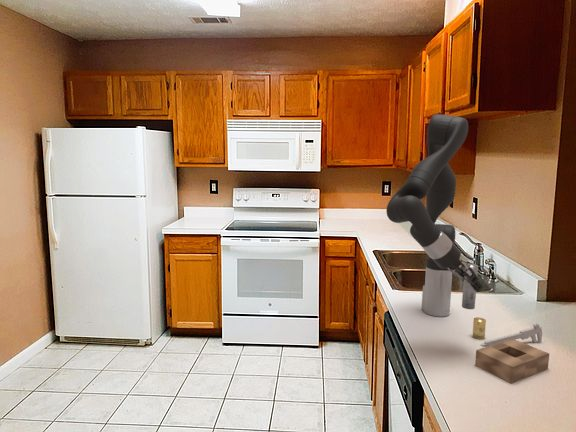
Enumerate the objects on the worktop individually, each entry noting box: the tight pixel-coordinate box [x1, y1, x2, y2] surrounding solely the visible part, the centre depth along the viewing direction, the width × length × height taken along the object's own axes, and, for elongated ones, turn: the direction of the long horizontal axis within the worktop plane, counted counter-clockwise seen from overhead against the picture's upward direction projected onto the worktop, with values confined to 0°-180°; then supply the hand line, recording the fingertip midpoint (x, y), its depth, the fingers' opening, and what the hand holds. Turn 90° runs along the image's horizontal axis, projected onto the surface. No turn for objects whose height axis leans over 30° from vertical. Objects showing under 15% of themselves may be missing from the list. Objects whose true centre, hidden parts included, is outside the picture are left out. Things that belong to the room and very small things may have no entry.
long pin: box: [461, 262, 479, 310], centre depth 129 cm, size 4×4×13 cm
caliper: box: [480, 323, 543, 347], centre depth 135 cm, size 20×1×6 cm, turn 100°
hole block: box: [474, 339, 550, 384], centre depth 121 cm, size 11×16×4 cm
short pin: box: [471, 316, 487, 340], centre depth 140 cm, size 4×4×6 cm
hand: (475, 287), depth 129 cm, fingers closed on long pin, 3 cm apart
